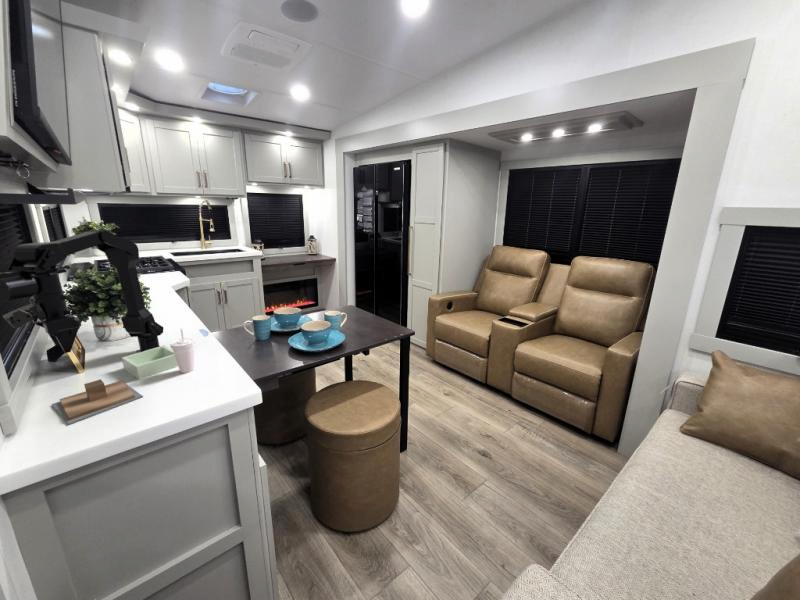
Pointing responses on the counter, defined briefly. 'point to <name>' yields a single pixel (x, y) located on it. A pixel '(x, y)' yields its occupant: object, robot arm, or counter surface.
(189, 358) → the smoothie
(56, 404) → the mat
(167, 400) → the counter surface
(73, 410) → the lid
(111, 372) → the counter surface
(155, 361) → the dish
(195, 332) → the counter surface
